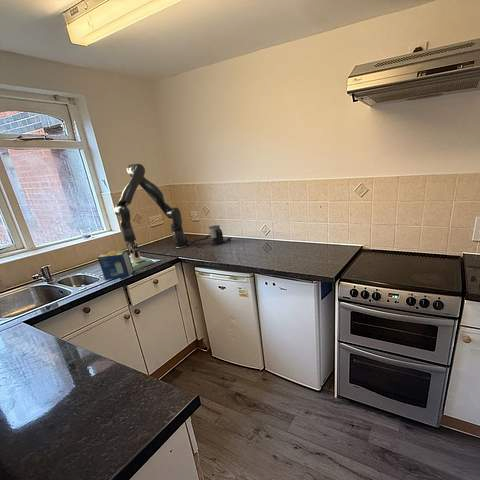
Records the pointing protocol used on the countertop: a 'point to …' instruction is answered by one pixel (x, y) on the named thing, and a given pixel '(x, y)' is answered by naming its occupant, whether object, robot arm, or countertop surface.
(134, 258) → the beige cup
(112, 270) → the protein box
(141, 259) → the scale
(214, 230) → the milk frother
